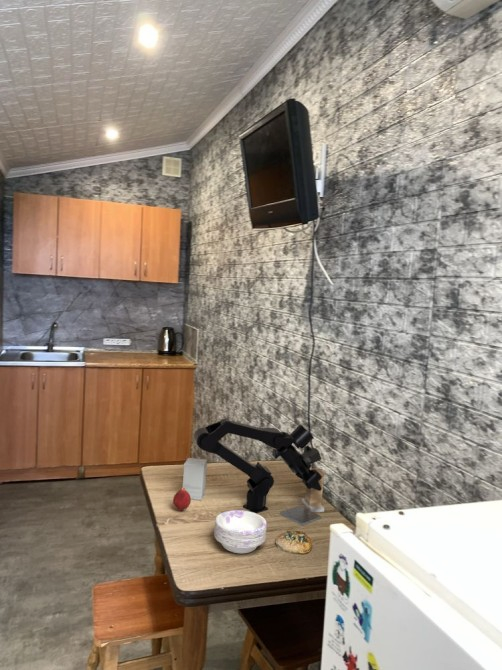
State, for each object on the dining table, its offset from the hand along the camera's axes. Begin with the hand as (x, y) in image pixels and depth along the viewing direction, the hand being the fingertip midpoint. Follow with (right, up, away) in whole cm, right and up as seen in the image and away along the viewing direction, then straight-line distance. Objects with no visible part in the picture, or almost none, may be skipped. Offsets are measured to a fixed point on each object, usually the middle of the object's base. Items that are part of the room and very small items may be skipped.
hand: (318, 487), depth 179 cm
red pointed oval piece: (-48, -4, -13) cm, 49 cm away
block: (-2, -7, 0) cm, 7 cm away
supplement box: (-45, -3, +1) cm, 45 cm away
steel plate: (-7, -7, -9) cm, 14 cm away
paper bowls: (-28, -8, -32) cm, 43 cm away
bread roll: (-11, -9, -29) cm, 33 cm away
